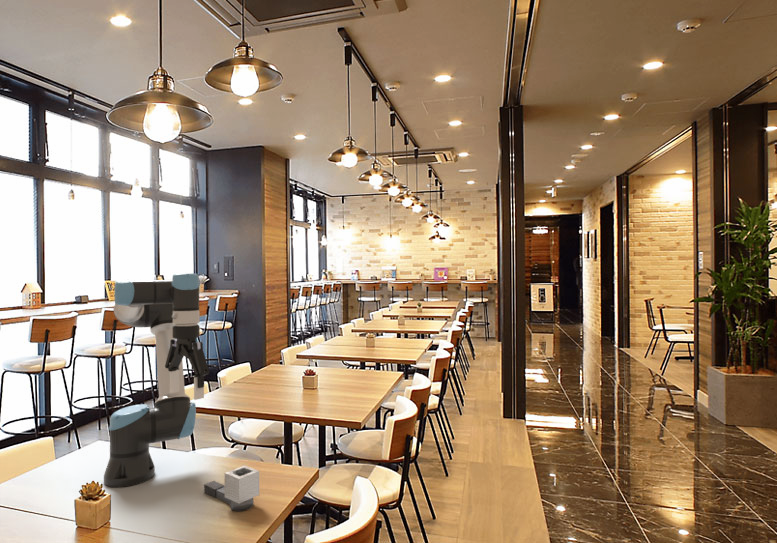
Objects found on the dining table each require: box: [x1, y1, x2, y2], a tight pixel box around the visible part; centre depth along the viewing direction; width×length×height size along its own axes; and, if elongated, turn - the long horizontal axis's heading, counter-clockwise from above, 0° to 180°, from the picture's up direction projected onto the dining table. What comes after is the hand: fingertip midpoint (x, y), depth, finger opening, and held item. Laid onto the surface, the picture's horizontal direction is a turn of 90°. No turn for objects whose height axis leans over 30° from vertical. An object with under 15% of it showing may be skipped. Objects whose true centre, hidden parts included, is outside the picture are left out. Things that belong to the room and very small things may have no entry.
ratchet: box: [203, 475, 254, 512], centre depth 146 cm, size 20×6×8 cm, turn 53°
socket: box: [223, 465, 260, 504], centre depth 141 cm, size 7×7×7 cm
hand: (186, 395), depth 145 cm, fingers open, 13 cm apart
